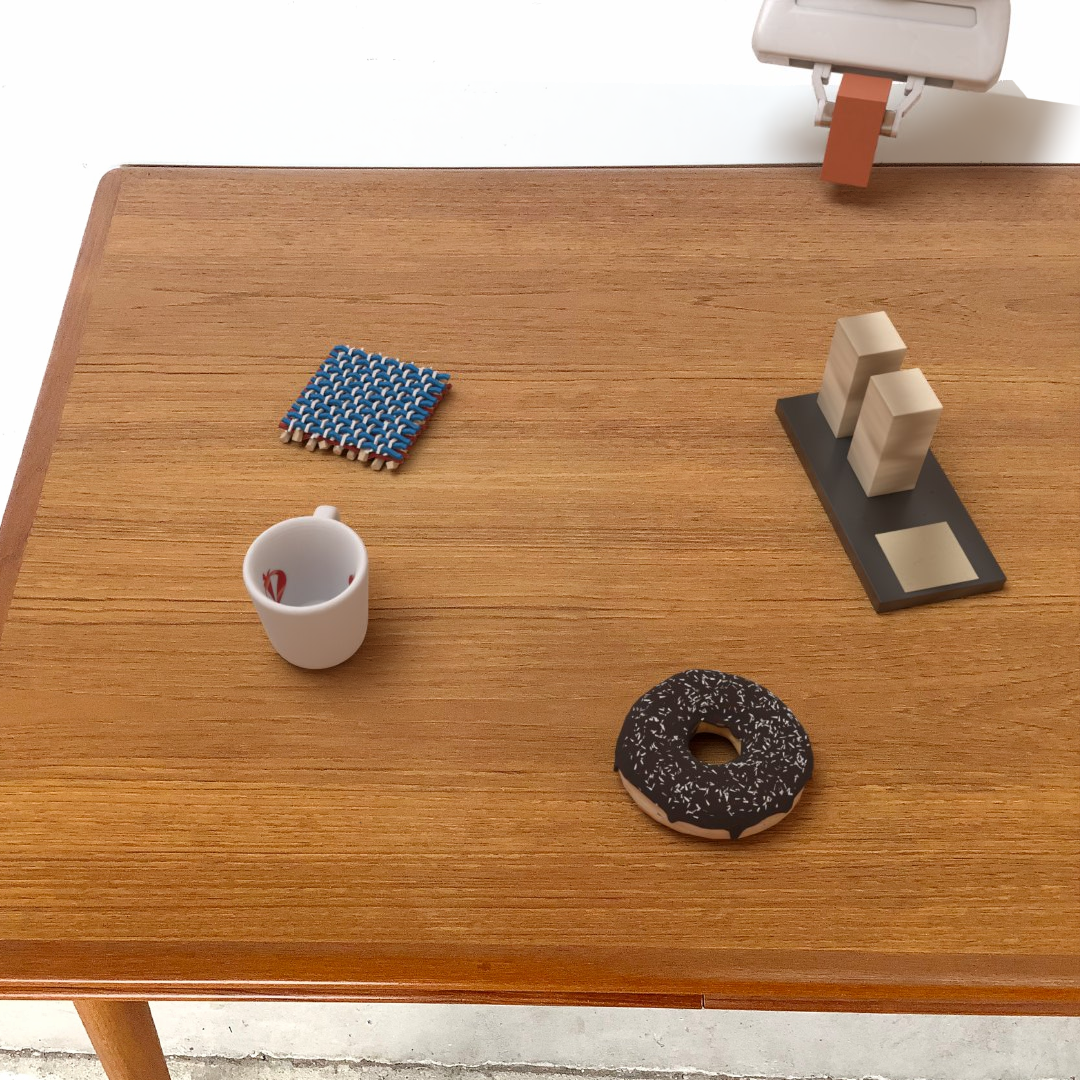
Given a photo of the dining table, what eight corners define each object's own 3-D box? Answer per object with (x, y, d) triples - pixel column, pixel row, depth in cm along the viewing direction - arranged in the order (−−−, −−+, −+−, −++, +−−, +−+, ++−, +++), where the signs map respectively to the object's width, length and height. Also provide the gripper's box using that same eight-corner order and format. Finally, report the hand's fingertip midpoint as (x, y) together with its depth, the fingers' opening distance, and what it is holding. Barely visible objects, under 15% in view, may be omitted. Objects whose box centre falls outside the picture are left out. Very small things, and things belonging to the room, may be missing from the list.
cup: (284, 554, 93) (267, 477, 87) (394, 564, 92) (385, 486, 86) (249, 679, 87) (228, 606, 80) (367, 690, 86) (355, 617, 79)
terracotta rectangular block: (826, 157, 115) (843, 71, 108) (872, 164, 114) (893, 78, 107) (819, 180, 113) (836, 95, 106) (866, 187, 112) (886, 102, 105)
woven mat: (335, 354, 105) (332, 335, 104) (456, 388, 102) (455, 368, 101) (274, 441, 100) (270, 422, 98) (399, 479, 97) (397, 460, 95)
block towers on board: (886, 390, 100) (915, 295, 93) (1002, 589, 89) (1046, 498, 81) (774, 410, 100) (794, 315, 92) (876, 613, 88) (909, 524, 80)
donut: (638, 675, 86) (643, 640, 82) (820, 719, 83) (833, 684, 80) (597, 819, 79) (600, 787, 76) (792, 871, 77) (804, 840, 74)
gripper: (770, -74, 106) (729, 102, 109) (1033, -44, 101) (984, 140, 104) (773, -45, 112) (734, 121, 115) (1021, -15, 107) (975, 157, 110)
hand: (855, 130), depth 109 cm, fingers closed on terracotta rectangular block, 4 cm apart
